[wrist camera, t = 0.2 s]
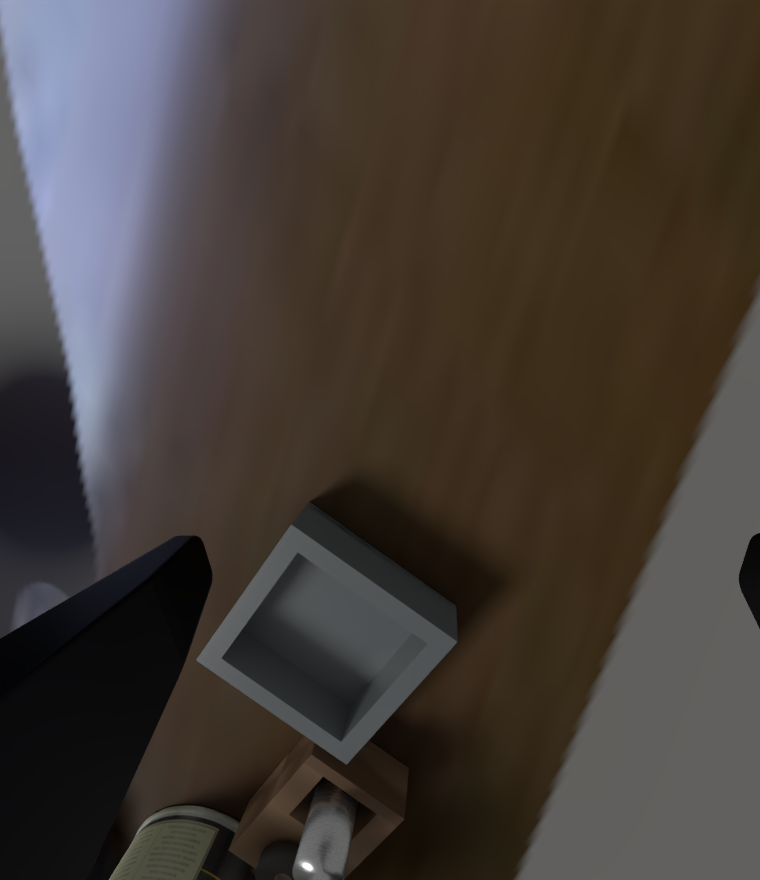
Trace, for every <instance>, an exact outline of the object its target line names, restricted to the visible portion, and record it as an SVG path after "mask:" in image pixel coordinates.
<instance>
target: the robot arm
mask: <svg viewBox="0 0 760 880" xmlns="http://www.w3.org/2000/svg"><path fill="white" fill-rule="evenodd" d="M739 583H740V588H741V591H742V593H743V595H744V597H745V599H746V601H747V603H748V605H749V607H750V609H751V611H752V614H753V615H754V618H755V620H756V621H757V624H758V626H759V628H760V533H758V534H756V535H754V536H753V537H752V538H751V540H750V542H749V545H748V548H747V551H746V554H745V557H744V561H743V564H742V567H741V570H740V574H739ZM211 584H212V569H211V566H210V563H209V560H208V556H207V553H206V550H205V547H204V544H203V541H202V540H201V538H200V537H198V536H175V537H173V538H171V539H170V540H168V541H166V542H165V543H163V544H161V545H159V546H158V547H156V548H154V549H153V550H151V551H149V552H147V553H146V554H144V555H142V556H141V557H139V558H137V559H135V560H134V561H132V562H130V563H129V564H127V565H125V566H123V567H122V568H120V569H118V570H117V571H115V572H113V573H111V574H110V575H108V576H106V577H105V578H103V579H101V580H100V581H98V582H96V583H94V584H93V585H91V586H90V587H88V588H86V589H84V590H82V591H81V592H79V593H77V594H76V595H74V596H72V597H70V598H69V599H67V600H65V601H64V602H62V603H60V604H58V605H57V606H55V607H53V608H52V609H50V610H48V611H46V612H45V613H43V614H41V615H40V616H38V617H36V618H34V619H33V620H31V621H29V622H28V623H26V624H24V625H22V626H21V627H19V628H17V629H16V630H14V631H12V632H11V633H9V634H7V635H6V636H4V637H2V638H0V880H87V879H88V876H89V874H90V872H91V870H92V867H93V865H94V863H95V861H96V859H97V856H98V854H99V852H100V850H101V848H102V845H103V843H104V841H105V839H106V837H107V834H108V832H109V830H110V828H111V826H112V823H113V821H114V819H115V817H116V815H117V812H118V810H119V808H120V806H121V803H122V801H123V799H124V797H125V795H126V792H127V790H128V788H129V786H130V784H131V781H132V779H133V777H134V775H135V773H136V770H137V768H138V766H139V764H140V762H141V759H142V757H143V755H144V753H145V751H146V748H147V746H148V744H149V742H150V739H151V737H152V735H153V733H154V731H155V728H156V726H157V724H158V722H159V720H160V717H161V715H162V713H163V711H164V709H165V706H166V704H167V702H168V700H169V698H170V695H171V693H172V691H173V689H174V687H175V684H176V682H177V680H178V678H179V675H180V673H181V671H182V668H183V666H184V663H185V661H186V658H187V655H188V653H189V650H190V647H191V644H192V641H193V638H194V635H195V632H196V629H197V626H198V623H199V620H200V617H201V614H202V611H203V608H204V605H205V602H206V599H207V596H208V593H209V590H210V588H211Z"/></svg>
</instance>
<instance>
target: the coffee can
mask: <svg viewBox="0 0 760 880" xmlns="http://www.w3.org/2000/svg"><path fill="white" fill-rule="evenodd" d="M239 824H240V822H239V821H237V820H235V819H234V818H232V817H230V816H228V815H226V814H224V813H221V812H219V811H217V810H213V809H210V808H206V807H201V806H193V805H183V806H173V807H168V808H165V809H163V810H161V811H159V812H156V813H154V814H153V815H151V816H150V817H149V818H148V819H146V820H145V822H144V823H143V824H142V825H141V827H140V828H139V830H138V832H137V834H136V836H135V838H134V840H133V842H132V843H131V845H130V847H129V848H128V850H127V851H126V853H125V855H124V856H123V858H122V859H121V861H120V863H119V864H118V866H117V867H116V869H115V871H114V872H113V874H112V876H111V877H110V879H109V880H256V879H255V871H256V869H255V868H253V867H252V866H250V865H249V864H248V863H246V862H245V861H243V860H242V859H240V858H239V857H237V856H236V855H234V854H233V853H232V852H230V851H229V848H230V845H231V843H232V840H233V838H234V836H235V833H236V831H237V829H238V826H239Z"/></svg>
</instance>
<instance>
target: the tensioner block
mask: <svg viewBox="0 0 760 880" xmlns="http://www.w3.org/2000/svg"><path fill="white" fill-rule="evenodd" d="M408 774H409V768H408V767H407V766H405V765H404V764H402V763H401V762H399V761H398V760H397V759H395V758H394V757H392V756H391V755H389V754H388V753H387V752H385V751H384V750H382V749H381V748H379V747H378V746H377V745H375V744H374V743H372V742H371V741H369V740H368V742H367V743H366V744H365V745H364V746H363V747H362V748H361V749H360V750H359V751H358V753H357V754H356V755H355V756H354V757H353V758H352V759H351V760H350V761H349V762H348V764H347V765H346V764H345V763H343V762H342V761H340V760H339V759H337V758H336V757H335V756H333V755H332V754H330V753H329V752H327V751H326V750H324V749H323V748H322V747H320V746H319V745H317V744H316V743H314V742H313V741H312V740H310V739H309V738H307V737H306V736H303V737H302V738H301V739H300V741H299V742H298V743H297V744H296V745H295V747H294V748H293V749H292V750H291V751H290V753H289V754H288V755H287V756H286V757H285V758H284V760H283V761H282V762H281V763H280V764H279V766H278V767H277V768H276V769H275V770H274V771H273V773H272V774H271V775H270V776H269V777H268V779H267V780H266V781H265V782H264V783H263V785H262V786H261V787H260V788H259V789H258V790H257V792H256V793H255V794H254V795H253V796H252V798H251V799H250V800H249V802H248V805H247V807H246V809H245V812H244V814H243V817H242V819H241V821H240V824H239V826H238V829H237V831H236V833H235V836H234V838H233V840H232V843H231V845H230V848H229V851H230V852H232V853H233V854H234V855H236V856H237V857H239V858H240V859H242V860H243V861H245V862H246V863H248V864H249V865H250V866H252V867H253V868H255V869H256V871H255V879H256V880H294V877H293V873H292V870H293V866H294V862H295V859H296V855H297V852H298V848H299V845H300V841H301V838H302V834H303V831H304V827H305V824H306V820H307V817H308V813H309V810H310V806H311V803H312V799H313V796H314V792H315V789H316V785H317V783H318V782H319V781H320V780H321V778H322V777H324V778H326V779H327V780H329V781H330V782H332V783H333V784H335V785H336V786H337V787H339V788H340V789H342V790H343V791H345V792H346V793H348V794H349V795H350V796H352V797H353V798H355V799H356V800H358V807H357V812H356V818H355V823H354V828H353V834H352V839H351V844H350V850H349V855H348V860H347V866H346V871H345V877H344V879H345V878H346V877H347V876H348V875H349V874H350V873H351V872H352V871H353V870H354V869H355V868H356V867H357V866H358V865H359V864H360V863H361V862H362V861H363V860H364V859H365V858H366V857H367V856H368V855H369V854H370V853H371V852H372V851H373V850H374V849H375V848H376V847H377V846H378V845H379V844H380V843H381V842H382V841H383V840H384V839H385V838H386V837H387V836H388V835H389V834H390V833H391V832H392V831H393V830H394V829H395V828H396V827H397V826H398V825H399V824H400V823H401V822H402V821H403V820H404V819H405V809H406V797H407V785H408Z"/></svg>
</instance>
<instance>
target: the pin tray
mask: <svg viewBox="0 0 760 880" xmlns="http://www.w3.org/2000/svg"><path fill="white" fill-rule="evenodd" d="M457 642H458V637H457V610H456V605H455V604H453V603H452V602H450V601H449V600H448V599H446V598H445V597H443V596H442V595H440V594H439V593H438V592H436V591H435V590H433V589H432V588H431V587H429V586H428V585H426V584H425V583H424V582H422V581H421V580H419V579H418V578H416V577H415V576H414V575H412V574H411V573H409V572H408V571H407V570H405V569H404V568H402V567H401V566H400V565H398V564H397V563H395V562H394V561H392V560H391V559H390V558H388V557H387V556H385V555H384V554H383V553H381V552H380V551H378V550H377V549H375V548H374V547H373V546H371V545H370V544H368V543H367V542H366V541H364V540H363V539H361V538H360V537H359V536H357V535H356V534H354V533H353V532H351V531H350V530H349V529H347V528H346V527H344V526H343V525H342V524H340V523H339V522H337V521H336V520H335V519H333V518H332V517H330V516H329V515H327V514H326V513H325V512H323V511H322V510H320V509H319V508H318V507H316V506H315V505H313V504H312V503H310V502H309V503H308V504H307V505H306V507H305V508H304V509H303V510H302V512H301V513H300V514H299V515H298V517H297V518H296V519H295V520H294V522H293V523H292V524H291V525H290V527H289V528H288V530H287V531H286V533H285V534H284V535H283V537H282V538H281V540H280V541H279V543H278V544H277V545H276V547H275V548H274V550H273V551H272V553H271V554H270V555H269V557H268V558H267V560H266V561H265V563H264V564H263V565H262V567H261V568H260V570H259V571H258V573H257V574H256V575H255V577H254V578H253V580H252V581H251V583H250V584H249V585H248V587H247V588H246V590H245V591H244V593H243V594H242V595H241V597H240V598H239V600H238V601H237V603H236V604H235V605H234V607H233V608H232V610H231V611H230V612H229V614H228V615H227V617H226V618H225V620H224V621H223V622H222V624H221V625H220V627H219V628H218V630H217V631H216V632H215V634H214V635H213V637H212V638H211V640H210V641H209V642H208V644H207V645H206V647H205V648H204V650H203V651H202V652H201V654H200V655H199V657H198V658H197V660H196V661H198V662H199V663H201V664H202V665H204V666H205V667H207V668H208V669H209V670H211V671H212V672H214V673H215V674H217V675H218V676H219V677H221V678H222V679H224V680H225V681H227V682H228V683H230V684H231V685H232V686H234V687H235V688H237V689H238V690H240V691H241V692H242V693H244V694H245V695H247V696H248V697H250V698H251V699H253V700H254V701H255V702H257V703H258V704H260V705H261V706H263V707H264V708H265V709H267V710H268V711H270V712H271V713H273V714H274V715H276V716H277V717H278V718H280V719H281V720H283V721H284V722H286V723H287V724H289V725H290V726H291V727H293V728H294V729H296V730H297V731H299V732H300V733H301V734H303V735H304V736H306V737H307V738H309V739H310V740H312V741H313V742H314V743H316V744H317V745H319V746H320V747H322V748H323V749H324V750H326V751H327V752H329V753H330V754H332V755H333V756H335V757H336V758H337V759H339V760H340V761H342V762H343V763H345V764H346V765H347V764H348V762H349V761H350V760H351V759H352V758H353V757H354V756H355V755H356V754H357V753H358V751H359V750H360V749H361V748H362V747H363V746H364V745H365V744H366V743H367V742H368V740H369V739H370V738H371V737H372V736H373V735H374V734H375V733H376V732H377V730H378V729H379V728H380V727H381V726H382V725H383V724H384V723H385V722H386V721H387V719H388V718H389V717H390V716H391V715H392V714H393V713H394V712H395V711H396V709H397V708H398V707H399V706H400V705H401V704H402V703H403V702H404V701H405V700H406V698H407V697H408V696H409V695H410V694H411V693H412V692H413V691H414V690H415V688H416V687H417V686H418V685H419V684H420V683H421V682H422V681H423V680H424V679H425V677H426V676H427V675H428V674H429V673H430V672H431V671H432V670H433V669H434V668H435V666H436V665H437V664H438V663H439V662H440V661H441V660H442V659H443V658H444V656H445V655H446V654H447V653H448V652H449V651H450V650H451V649H452V648H453V647H454V645H455V644H456V643H457Z"/></svg>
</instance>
